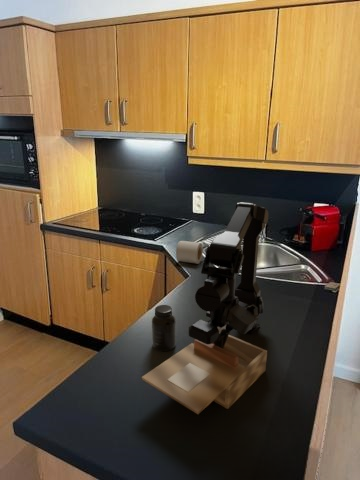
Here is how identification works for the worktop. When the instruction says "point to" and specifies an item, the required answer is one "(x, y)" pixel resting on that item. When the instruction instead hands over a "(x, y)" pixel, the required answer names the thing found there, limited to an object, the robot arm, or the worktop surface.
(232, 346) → the mailer box
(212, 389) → the mailer lid
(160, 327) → the supplement bottle
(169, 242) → the worktop surface
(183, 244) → the toilet paper
